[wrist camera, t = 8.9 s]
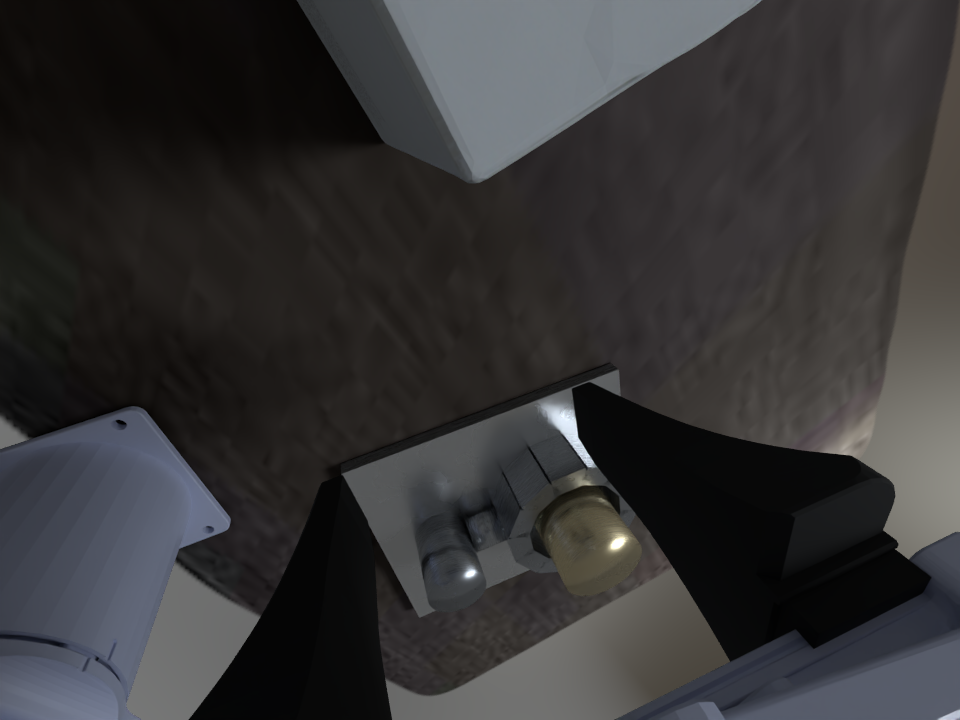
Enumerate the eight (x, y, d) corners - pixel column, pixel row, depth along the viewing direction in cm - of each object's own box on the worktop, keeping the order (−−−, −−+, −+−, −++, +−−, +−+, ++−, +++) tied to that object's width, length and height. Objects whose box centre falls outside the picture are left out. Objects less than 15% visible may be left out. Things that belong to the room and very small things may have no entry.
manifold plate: (417, 606, 31) (431, 680, 27) (340, 463, 24) (343, 535, 20) (622, 518, 33) (664, 573, 29) (611, 362, 26) (663, 408, 22)
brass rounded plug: (524, 519, 29) (567, 606, 24) (516, 472, 26) (562, 557, 21) (586, 496, 30) (640, 576, 25) (583, 447, 27) (643, 525, 22)
